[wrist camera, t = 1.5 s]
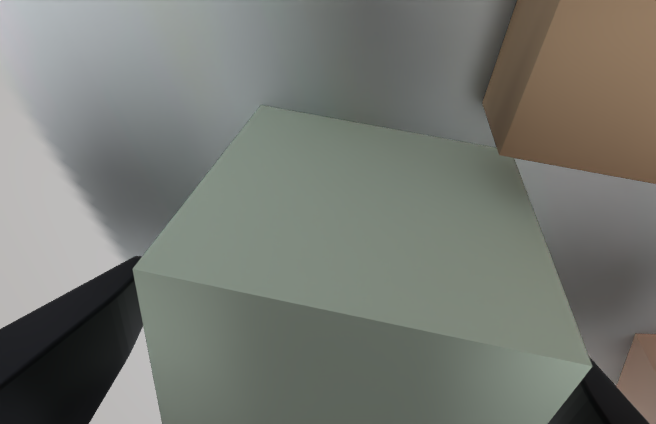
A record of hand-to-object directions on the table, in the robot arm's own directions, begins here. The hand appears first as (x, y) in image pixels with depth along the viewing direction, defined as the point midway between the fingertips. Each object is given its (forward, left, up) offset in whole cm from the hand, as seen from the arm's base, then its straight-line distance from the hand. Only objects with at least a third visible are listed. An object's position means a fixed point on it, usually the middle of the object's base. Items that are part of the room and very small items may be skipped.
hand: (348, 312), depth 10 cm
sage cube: (0, 0, -3) cm, 3 cm away
